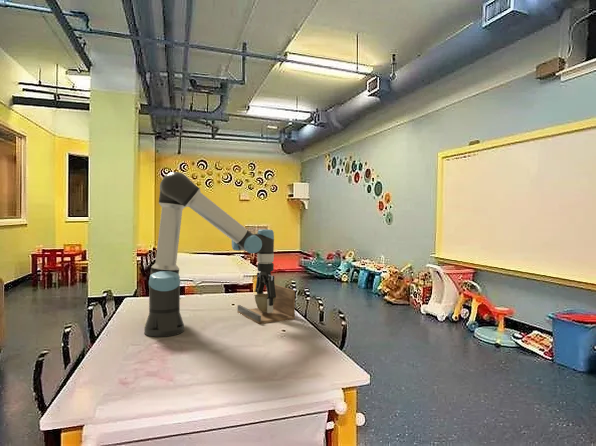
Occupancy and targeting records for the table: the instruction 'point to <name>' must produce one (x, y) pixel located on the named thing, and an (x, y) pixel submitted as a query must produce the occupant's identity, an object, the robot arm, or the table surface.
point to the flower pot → (262, 301)
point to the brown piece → (274, 308)
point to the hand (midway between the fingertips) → (265, 310)
